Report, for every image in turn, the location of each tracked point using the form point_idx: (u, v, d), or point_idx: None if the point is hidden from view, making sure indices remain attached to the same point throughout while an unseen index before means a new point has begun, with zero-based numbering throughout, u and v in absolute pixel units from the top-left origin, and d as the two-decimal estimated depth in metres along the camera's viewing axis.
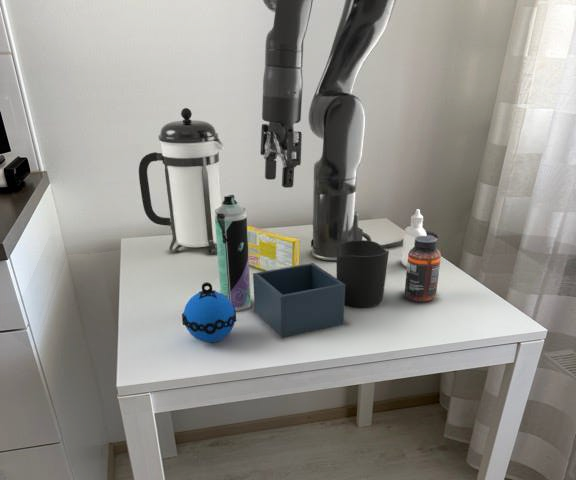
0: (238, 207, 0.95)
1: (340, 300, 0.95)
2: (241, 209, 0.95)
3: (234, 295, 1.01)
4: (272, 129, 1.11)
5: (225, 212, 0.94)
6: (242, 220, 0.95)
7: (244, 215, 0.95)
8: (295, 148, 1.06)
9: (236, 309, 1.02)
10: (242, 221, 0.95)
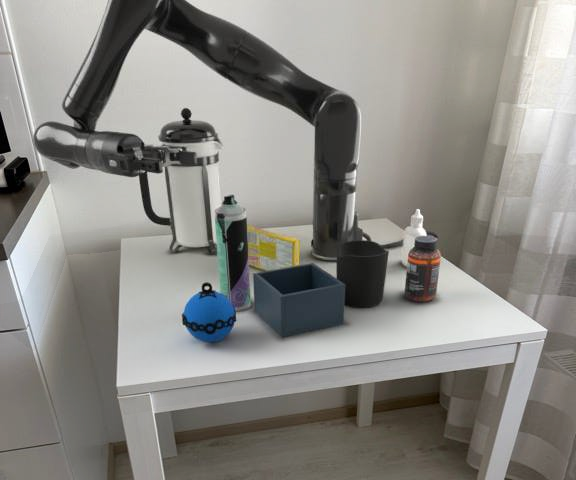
0: (238, 207, 0.95)
1: (340, 300, 0.95)
2: (241, 209, 0.95)
3: (234, 295, 1.01)
4: None
5: (225, 212, 0.94)
6: (242, 220, 0.95)
7: (244, 215, 0.95)
8: (118, 164, 0.96)
9: (236, 309, 1.02)
10: (242, 221, 0.95)
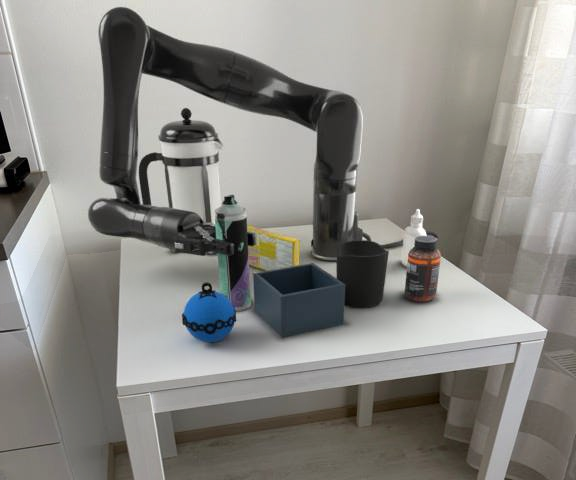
0: (238, 207, 0.95)
1: (340, 300, 0.95)
2: (241, 209, 0.95)
3: (234, 295, 1.01)
4: None
5: (225, 212, 0.94)
6: (242, 220, 0.95)
7: (244, 215, 0.95)
8: (187, 247, 0.96)
9: (236, 309, 1.02)
10: (242, 221, 0.95)
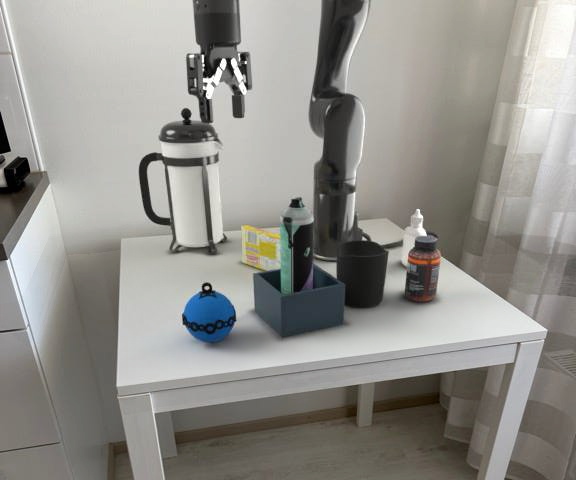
0: (306, 210, 0.89)
1: (340, 300, 0.95)
2: (309, 212, 0.90)
3: None
4: None
5: (293, 216, 0.88)
6: (310, 224, 0.90)
7: (312, 219, 0.90)
8: (192, 73, 0.91)
9: None
10: (310, 226, 0.90)
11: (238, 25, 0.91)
